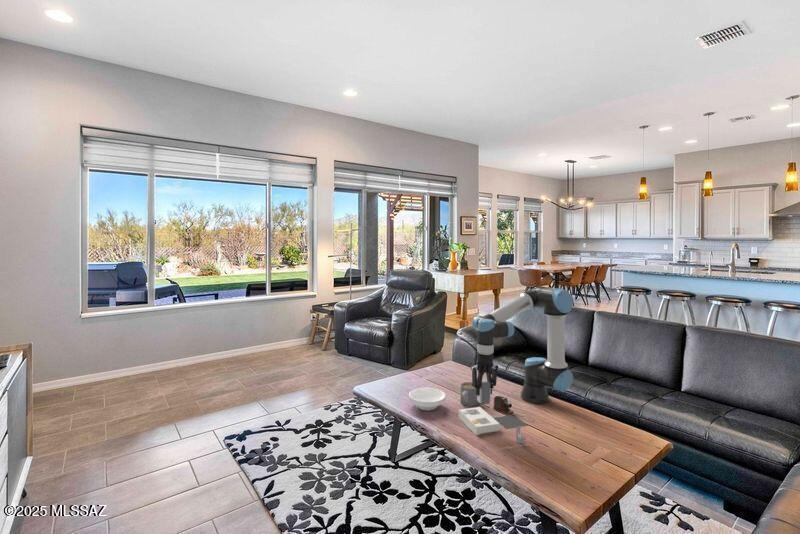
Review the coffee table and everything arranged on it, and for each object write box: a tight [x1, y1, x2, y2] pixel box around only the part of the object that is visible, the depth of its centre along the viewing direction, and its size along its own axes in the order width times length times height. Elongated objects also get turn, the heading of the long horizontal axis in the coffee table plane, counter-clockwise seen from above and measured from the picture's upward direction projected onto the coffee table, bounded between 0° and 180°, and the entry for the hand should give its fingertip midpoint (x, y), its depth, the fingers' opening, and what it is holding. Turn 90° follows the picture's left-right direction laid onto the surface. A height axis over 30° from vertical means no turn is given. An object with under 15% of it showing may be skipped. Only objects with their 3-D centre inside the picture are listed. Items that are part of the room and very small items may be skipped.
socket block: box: [457, 406, 501, 436], centre depth 193 cm, size 12×19×4 cm, turn 17°
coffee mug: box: [459, 381, 480, 408], centre depth 216 cm, size 13×10×10 cm
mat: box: [493, 414, 528, 430], centre depth 195 cm, size 12×12×1 cm
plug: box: [480, 378, 491, 405], centre depth 187 cm, size 4×4×11 cm
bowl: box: [408, 387, 446, 411], centre depth 211 cm, size 20×20×7 cm
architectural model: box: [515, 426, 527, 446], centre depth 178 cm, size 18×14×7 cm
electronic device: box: [493, 395, 514, 415], centre depth 207 cm, size 4×10×8 cm, turn 44°
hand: (483, 401), depth 187 cm, fingers closed on plug, 4 cm apart
